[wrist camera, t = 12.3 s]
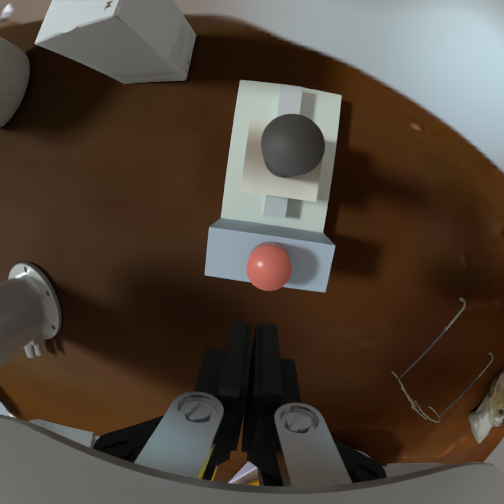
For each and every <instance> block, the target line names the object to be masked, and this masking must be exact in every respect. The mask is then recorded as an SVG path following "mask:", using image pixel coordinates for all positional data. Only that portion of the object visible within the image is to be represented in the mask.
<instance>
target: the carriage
mask: <svg viewBox="0 0 504 504" xmlns="http://www.w3.org/2000/svg"><path fill="white" fill-rule="evenodd" d="M325 135H326V129H323V128H319V127H318V126H317V124H316V123H314V122H313V121H312V120H311V119H309V118H307V117H305V116H303V115H299V114H284V115H281V116H279V117H276V118H275V119H273V120H269V119H261V118H252V117H250V124H249V131H248V138H247V145H246V153H245V160H244V167H243V175H242V182H241V190H240V191H243V192H251V193H258V194H265V195H272V196H279V197H285V198H292V199H298V200H304V201H310V202H316V200H317V193H318V187H319V180H320V173H321V166H322V159H323V155H324V152H325Z"/></svg>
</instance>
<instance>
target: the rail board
mask: <svg viewBox="0 0 504 504" xmlns="http://www.w3.org/2000/svg"><path fill="white" fill-rule="evenodd" d="M340 106H341V95H337V94H333V93H328V92H323V91H318V90H313V89H307V88H303V87H298V86H292V85H285V84H275V83H266V82H257V81H247V80H240V84H239V90H238V96H237V103H236V109H235V116H234V123H233V129H232V136H231V143H230V151H229V158H228V165H227V173H226V181H225V189H224V197H223V205H222V214H221V218H220V219H219V220H218V221H216V222H215V223H214V224H213V225H211V226H210V227H209V235H208V245H207V255H206V266H205V275H207V276H213V277H220V278H226V279H233V280H239V281H246V282H251V281H250V280H249V278H248V276H247V263H248V259H249V256H250V253H251V251H252V250H253V249H254V248H255V247H256V246H257V245H259V244H261V243H264V242H275V243H278V244H280V245H281V246H283V247H284V248H285V250H286V251H287V253H288V255H289V258H290V262H291V267H292V271H291V276H290V278H289V280H288V282H287V283H286V284H285V285H284V286H283V287H288V288H296V289H303V290H311V291H319V292H325V291H326V287H327V282H328V278H329V273H330V269H331V264H332V259H333V255H334V250H335V245H334V244H333V243H332V242H331V241H330V239H329V238H328V237H327V236H326V235H325V234H324V233H323V230H324V224H325V218H326V212H327V206H328V200H329V194H330V187H331V180H332V173H333V166H334V159H335V151H336V143H337V135H338V126H339V117H340ZM284 114H299V115H303V116H305V117H307V118H309V119H311V120H312V121H313V122H314V123H316V124H317V126H318V127H319V128H323V129H326V135H325V152H324V155H323V159H322V166H321V173H320V180H319V187H318V193H317V200H316V202H310V201H304V200H298V199H292V198H285V197H279V196H272V195H265V194H258V193H251V192H243V191H240V190H241V182H242V175H243V167H244V160H245V153H246V145H247V138H248V131H249V124H250V117H252V118H261V119H269V120H273V119H275V118H276V117H279V116H281V115H284Z"/></svg>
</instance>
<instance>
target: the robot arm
mask: <svg viewBox="0 0 504 504" xmlns="http://www.w3.org/2000/svg"><path fill="white" fill-rule="evenodd" d="M61 322H62V315H61V308H60V304H59V301H58V298H57V295H56V293H55V290H54V289H53V287H52V285H51V283H50V281H49V280H48V278H47V277H46V276H45V275H44V273H43V272H42V271H41V270H40V269H39V268H38V267H36V266H35V265H33V264H31V263H28V262H22V263H19V264H17V265H15V266H14V267H13V268H12V270H11V272H10V274H9V279H8V280H7V281H5V282H3V283H1V284H0V367H1V366H2V365H3V364H5V363H6V362H7V361H8V360H9V359H11V358H12V357H13V356H14V355H15V354H17V353H18V352H19V351H20V350H21V349H23V348H25V351H26V354H27V357H29V358H33V357H35V356H36V355H37V356H41V355H43V351H42V348H41V345H40V343H41V340H43V339H50V338H52V337H54V336H55V335H56V334H57V333H58V332H59V330H60V327H61ZM246 322H247V321H242V320H235V319H232V324H231V329H230V334H229V339H228V344H227V349H226V351H219V350H213V349H207V351H206V354H205V357H204V360H203V363H202V366H201V370H200V373H199V376H198V380H197V383H196V386H195V389H194V392H187V393H183V394H181V395H179V396H178V397H177V398H176V399H175V400H174V401H173V403H172V404H171V406H170V407H169V409H168V410H167V412H166V414H165V415H163V416H161V417H158V418H155V419H152V420H149V421H146V422H143V423H140V424H137V425H133V426H130V427H127V428H124V429H120V430H117V431H113V432H110V433H107V434H104V435H102V436H101V437H99V436H95V435H94V433H93V432H88V431H84V430H79V429H74V428H70V427H66V426H62V425H58V424H54V423H50V422H47V421H43V420H37V419H36V420H31V421H29V422H27V421H24V420H21V419H18V418H14V417H9V416H4V415H0V504H504V472H503V471H502V470H501V469H500V468H499V467H497V466H495V465H493V464H489V463H483V462H465V463H455V464H449V465H442V464H439V463H415V464H392V463H387V464H386V465H385V466H381V464H379V463H378V462H376V461H375V460H373V459H371V458H369V457H367V456H365V455H364V454H362V453H360V452H358V451H356V450H355V449H353V448H351V447H349V446H348V445H346V444H344V443H343V442H341V441H339V440H337V439H336V438H334V437H332V436H331V434H330V432H329V429H328V427H327V425H326V423H325V420H324V418H323V416H322V415H321V413H320V412H319V411H318V410H316V409H315V408H314V407H312V406H310V405H307V404H303V403H301V398H300V392H299V386H298V380H297V374H296V368H295V362H294V360H293V359H285V358H280V354H279V344H278V334H277V325H274V324H265V323H262V326H261V327H259V326H256V329H255V335H254V341H253V347H252V353H251V359H250V345H251V330H252V325H246ZM249 361H250V365H249ZM244 408H245V409H244ZM243 414H244V423H243V436H242V449H241V451H242V452H247V461H250V462H251V463H252V464H253V465H254V466H256V467H257V468H258V473H257V475H258V480H259V486H255V485H243V484H233V483H224V482H217V481H213V479H214V476H215V474H216V471H217V466H218V465H219V464H221V463H223V462H225V461H227V460H229V458H230V452H231V451H237V446H238V440H239V435H240V430H241V424H242V419H243Z"/></svg>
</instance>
